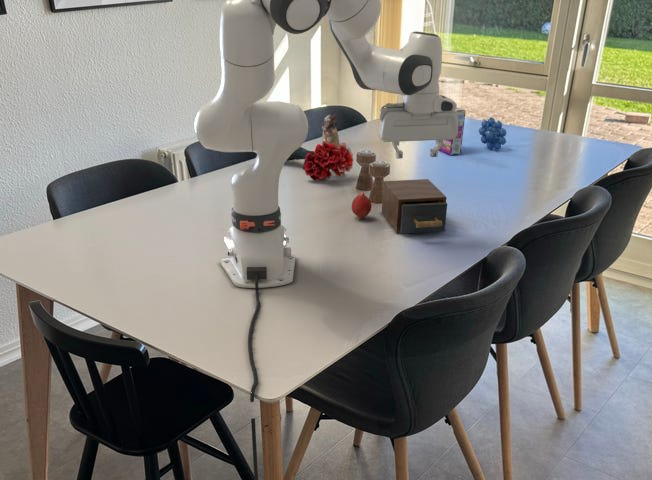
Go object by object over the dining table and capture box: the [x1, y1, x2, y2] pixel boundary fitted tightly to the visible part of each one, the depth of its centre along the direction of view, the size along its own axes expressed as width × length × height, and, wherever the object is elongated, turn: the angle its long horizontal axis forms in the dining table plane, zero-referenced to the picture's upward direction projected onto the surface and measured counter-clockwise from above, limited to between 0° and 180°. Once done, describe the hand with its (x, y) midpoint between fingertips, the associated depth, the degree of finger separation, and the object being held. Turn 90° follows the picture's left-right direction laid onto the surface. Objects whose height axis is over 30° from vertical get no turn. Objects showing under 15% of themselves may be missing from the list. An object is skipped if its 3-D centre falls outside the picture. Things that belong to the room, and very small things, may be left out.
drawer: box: [400, 200, 448, 234], centre depth 197 cm, size 21×13×8 cm, turn 11°
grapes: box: [478, 116, 507, 151], centre depth 270 cm, size 12×7×12 cm, turn 55°
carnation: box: [286, 142, 354, 182], centre depth 242 cm, size 16×18×35 cm
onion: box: [351, 191, 373, 220], centre depth 204 cm, size 6×6×8 cm
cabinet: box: [381, 178, 447, 234], centre depth 202 cm, size 17×14×10 cm
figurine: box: [320, 114, 340, 148], centre depth 272 cm, size 7×7×12 cm
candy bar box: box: [435, 107, 466, 156], centre depth 266 cm, size 11×5×16 cm, turn 25°
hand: (416, 157), depth 183 cm, fingers open, 8 cm apart
